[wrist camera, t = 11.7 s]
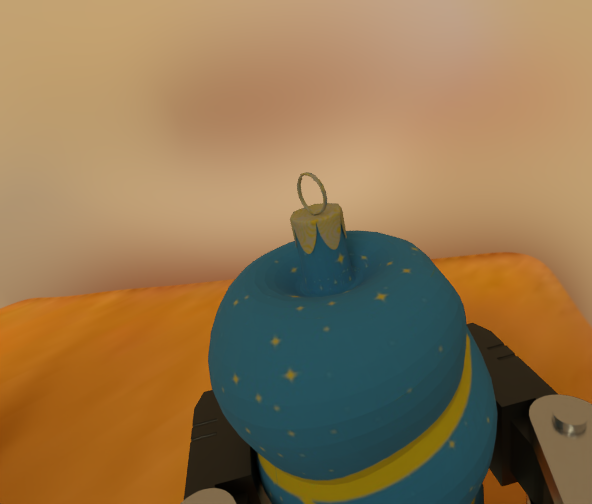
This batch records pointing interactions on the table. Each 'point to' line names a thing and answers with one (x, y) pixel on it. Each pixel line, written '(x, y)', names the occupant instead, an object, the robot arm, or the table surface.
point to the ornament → (353, 370)
